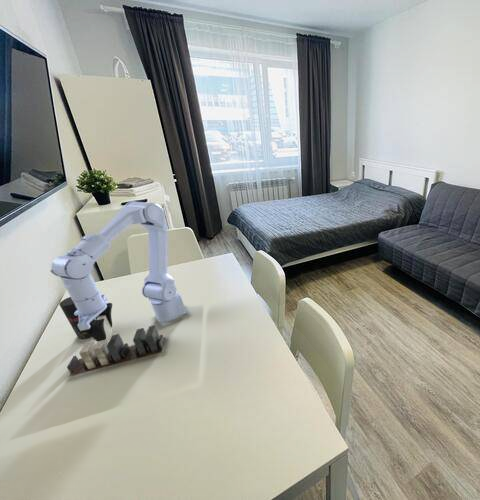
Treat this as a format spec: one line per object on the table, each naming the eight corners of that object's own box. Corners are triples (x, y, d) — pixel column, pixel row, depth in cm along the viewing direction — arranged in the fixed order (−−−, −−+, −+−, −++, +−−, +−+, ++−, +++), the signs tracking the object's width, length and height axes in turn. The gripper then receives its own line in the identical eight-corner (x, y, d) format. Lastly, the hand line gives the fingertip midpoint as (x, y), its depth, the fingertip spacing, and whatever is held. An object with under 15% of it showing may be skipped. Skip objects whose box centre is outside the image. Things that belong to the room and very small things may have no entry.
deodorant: (88, 342, 91) (69, 306, 85) (74, 340, 92) (54, 304, 86) (105, 330, 96) (87, 296, 90) (91, 328, 98) (73, 294, 91)
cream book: (113, 331, 83) (105, 314, 80) (107, 342, 79) (99, 325, 76) (106, 333, 83) (97, 316, 80) (100, 344, 78) (91, 327, 76)
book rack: (166, 339, 92) (159, 322, 88) (162, 354, 86) (155, 336, 83) (80, 361, 84) (69, 343, 81) (70, 379, 78) (58, 360, 75)
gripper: (79, 285, 79) (97, 322, 85) (54, 314, 67) (77, 355, 73) (108, 280, 81) (124, 316, 87) (89, 307, 69) (109, 347, 75)
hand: (105, 333), depth 80 cm, fingers closed on cream book, 5 cm apart
